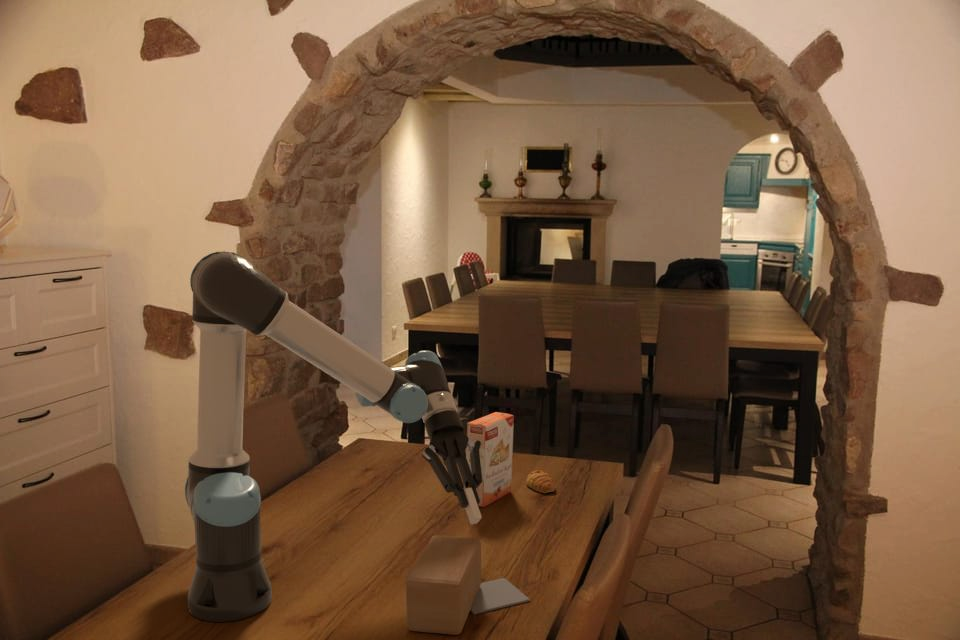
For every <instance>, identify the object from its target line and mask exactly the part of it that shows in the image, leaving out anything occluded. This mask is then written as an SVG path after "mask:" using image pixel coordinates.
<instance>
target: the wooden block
mask: <svg viewBox="0 0 960 640" xmlns="http://www.w3.org/2000/svg"><path fill="white" fill-rule="evenodd" d="M482 581H483V580H482V542H481V540H480V538H478V537H467V536H453V535H452V536H451V535H440V534H439V535H437V534H436V535H433V536H431V538H430V540H429V541H428V543H427V545H426V546H425V548H424V550H423V551H422V553H421V555H420V556H419V558H418V560H417V562H416V563H415V565H414V566H413V568H412V570H411V572H410V574H409V576H408V577H407V578H406V581H405V594H406V595H405V596H406V597H405V599H406V601H405V602H406V626H407V629H408V630H409V631H411V632H421V633H430V634H431V633H433V634H442V635H443V634H444V635H454V636H455V635H460V634H461V633H462V631H463V629H464V627H465V624H466V621H467V619H468V616H469V614H470V613H471V612H470V609H471V607H472V604H473V602H474V599H475V597H476V594H477V592H478V590H479V587H480V585H481V583H483V582H482Z"/></svg>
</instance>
